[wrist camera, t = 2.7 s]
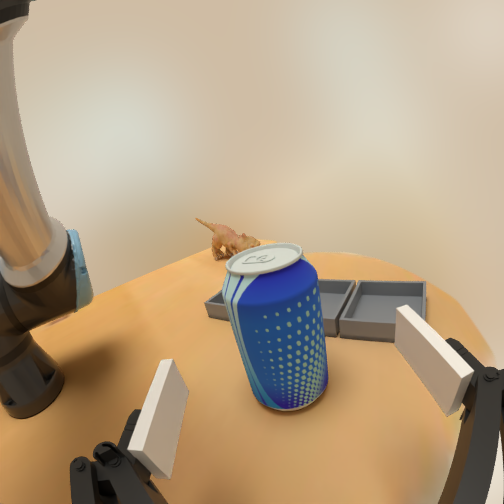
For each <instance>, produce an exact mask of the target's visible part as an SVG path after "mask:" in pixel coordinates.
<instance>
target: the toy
mask: <svg viewBox="0 0 504 504" xmlns="http://www.w3.org/2000/svg"><path fill="white" fill-rule="evenodd" d="M196 220H197V221H199V222H200V223H202V224H203V225H205V226H207V227H208V228H209V229H210V230H212V231H213V232H214V233H215V234H214V235H213V238H212V240H213V241H212V252H213V256H214V257H215V258H216V260H217V256H218V257H219V259H220V255H222V256H224V254H223V252H222V251H221V250H220V248H221V247H222V245H223V246H225V247H226V253H227V254H228V255H229V256H231V257H232V254H233V255H236V254H238V252H239V253H240V252H242V251H245V250H247V249H250V248H254V247H257V246H260V242H259V241H257V240H256V239H255V238H253V237H251V236H246V235H245V234H244V233H243V234H242V236H241V235H239V237H238V235H237V234H236V233H235V231H234V230H232V229H231V228H229V227H227V226H225V225H220V224H212V223H206V222H204V221H201V220H199V219H197V218H196ZM237 250H238V251H237Z"/></svg>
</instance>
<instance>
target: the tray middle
mask: <svg viewBox="0 0 504 504" xmlns="http://www.w3.org/2000/svg"><path fill="white" fill-rule="evenodd" d="M318 284H319V291H320V299H321V307H322V316H323V325H324V334H325V336H329V337H337V335H338V333H339V331H340V327H339V319H340V317H341V315H342V313H343V311H344V309H345V307H346V305H347V303H348V301H349V299H350V297H351V295H352V293H353V291H354V289H355V287H356V282H355V280H329V279H318Z"/></svg>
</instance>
